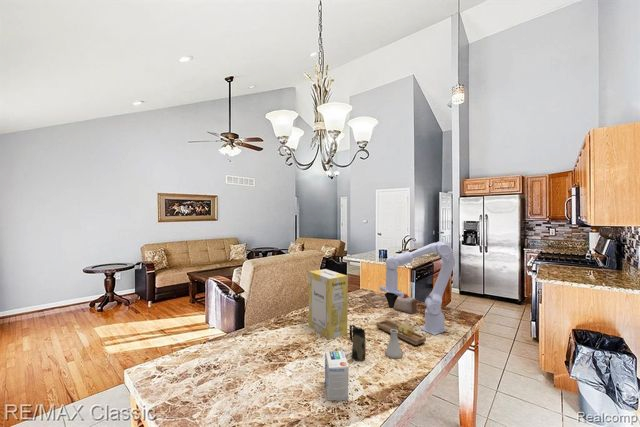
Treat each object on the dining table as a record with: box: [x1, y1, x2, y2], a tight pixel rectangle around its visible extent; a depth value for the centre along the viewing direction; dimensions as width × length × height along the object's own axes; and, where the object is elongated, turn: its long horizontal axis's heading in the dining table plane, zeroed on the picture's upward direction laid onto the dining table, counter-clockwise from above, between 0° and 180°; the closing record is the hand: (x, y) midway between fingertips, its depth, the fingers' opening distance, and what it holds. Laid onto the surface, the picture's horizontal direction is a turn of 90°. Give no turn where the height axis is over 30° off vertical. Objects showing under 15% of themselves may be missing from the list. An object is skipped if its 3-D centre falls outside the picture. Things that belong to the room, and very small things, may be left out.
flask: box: [384, 329, 404, 360], centre depth 120 cm, size 7×7×10 cm
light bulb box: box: [324, 350, 350, 401], centre depth 97 cm, size 11×7×11 cm, turn 5°
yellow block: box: [399, 323, 414, 337], centre depth 135 cm, size 4×5×4 cm
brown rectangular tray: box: [375, 319, 427, 346], centre depth 138 cm, size 8×24×3 cm, turn 33°
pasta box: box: [308, 268, 349, 340], centre depth 145 cm, size 18×10×28 cm, turn 34°
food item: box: [393, 293, 418, 315], centre depth 172 cm, size 14×8×10 cm, turn 44°
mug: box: [348, 324, 367, 362], centre depth 119 cm, size 8×6×12 cm
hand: (391, 307), depth 148 cm, fingers closed
